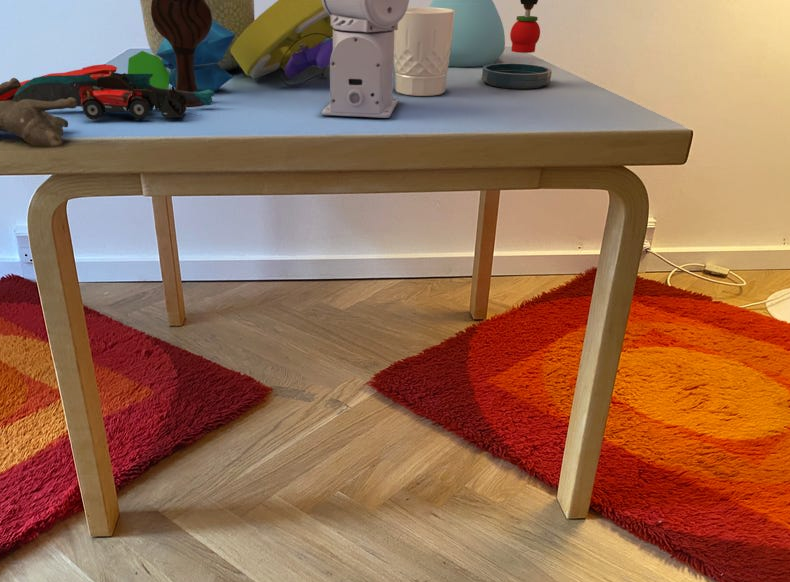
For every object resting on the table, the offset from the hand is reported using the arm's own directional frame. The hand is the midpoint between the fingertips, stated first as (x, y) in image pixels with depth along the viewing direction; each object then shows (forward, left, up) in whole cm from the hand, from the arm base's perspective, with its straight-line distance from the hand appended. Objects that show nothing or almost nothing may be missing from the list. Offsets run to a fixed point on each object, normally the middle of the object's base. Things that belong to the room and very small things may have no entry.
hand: (528, 3), depth 94 cm
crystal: (-13, +43, -10) cm, 46 cm away
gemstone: (-18, +47, -8) cm, 51 cm away
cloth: (-18, +59, -8) cm, 62 cm away
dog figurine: (-37, +51, -8) cm, 63 cm away
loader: (-30, +45, -10) cm, 55 cm away
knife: (-28, +48, -6) cm, 56 cm away
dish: (+2, 0, -10) cm, 11 cm away
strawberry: (0, 0, -6) cm, 6 cm away
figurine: (-20, +41, -11) cm, 47 cm away
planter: (+3, +48, -10) cm, 49 cm away
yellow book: (-1, +34, -2) cm, 34 cm away
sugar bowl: (+21, +9, -11) cm, 25 cm away
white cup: (-7, +13, -11) cm, 19 cm away
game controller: (-5, +28, -10) cm, 30 cm away
